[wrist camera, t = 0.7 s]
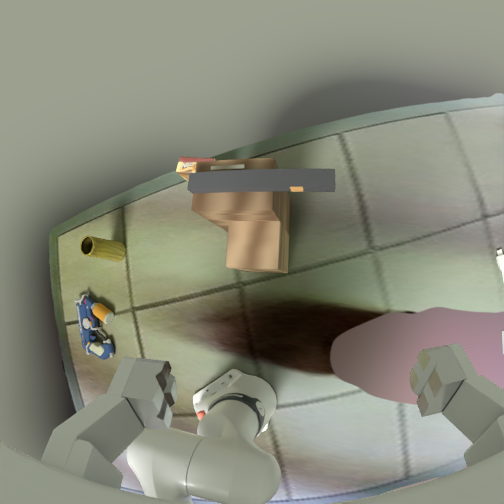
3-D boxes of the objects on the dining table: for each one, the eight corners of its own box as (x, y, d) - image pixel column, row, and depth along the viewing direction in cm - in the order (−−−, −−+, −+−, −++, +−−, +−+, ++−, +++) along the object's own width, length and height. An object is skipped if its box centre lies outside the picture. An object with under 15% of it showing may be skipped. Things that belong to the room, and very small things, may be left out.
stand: (290, 200, 75) (273, 157, 49) (288, 273, 73) (269, 265, 47) (236, 200, 78) (196, 161, 52) (231, 270, 76) (186, 262, 51)
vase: (121, 265, 84) (89, 261, 70) (108, 257, 85) (76, 251, 72) (129, 246, 84) (97, 239, 70) (115, 238, 85) (83, 230, 72)
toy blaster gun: (112, 289, 84) (80, 295, 87) (103, 290, 80) (71, 295, 83) (124, 358, 81) (90, 357, 85) (115, 360, 77) (82, 360, 81)
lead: (334, 174, 47) (334, 168, 45) (334, 192, 47) (335, 187, 44) (194, 177, 52) (189, 172, 50) (193, 193, 52) (187, 189, 50)
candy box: (200, 192, 80) (174, 173, 66) (203, 177, 81) (179, 156, 66) (231, 195, 78) (210, 175, 63) (234, 180, 79) (214, 157, 64)
